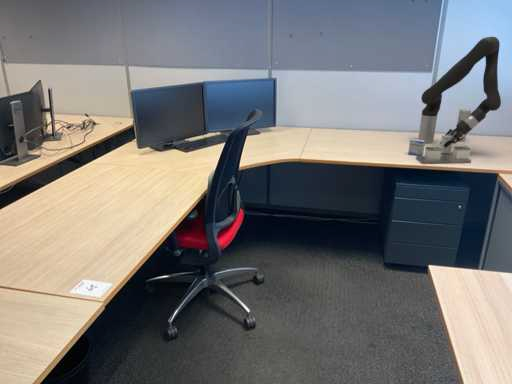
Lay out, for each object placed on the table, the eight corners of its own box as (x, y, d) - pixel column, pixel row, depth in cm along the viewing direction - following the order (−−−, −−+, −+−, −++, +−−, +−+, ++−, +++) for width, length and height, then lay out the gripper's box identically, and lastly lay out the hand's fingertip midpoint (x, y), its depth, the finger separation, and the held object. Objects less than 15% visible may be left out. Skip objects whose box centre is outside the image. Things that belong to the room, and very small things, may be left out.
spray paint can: (464, 139, 279) (469, 108, 272) (466, 142, 273) (471, 110, 266) (453, 138, 281) (458, 108, 273) (455, 141, 275) (460, 110, 267)
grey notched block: (416, 158, 242) (417, 146, 239) (462, 158, 243) (465, 145, 240) (422, 163, 234) (424, 150, 231) (470, 163, 234) (473, 149, 232)
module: (439, 150, 251) (442, 135, 247) (447, 150, 251) (450, 135, 248) (442, 153, 247) (445, 137, 244) (450, 152, 247) (453, 137, 244)
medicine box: (407, 154, 250) (409, 140, 246) (409, 152, 253) (411, 138, 250) (422, 156, 246) (424, 141, 243) (423, 154, 250) (425, 139, 247)
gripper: (457, 117, 249) (433, 137, 253) (469, 123, 236) (444, 144, 240) (464, 125, 251) (441, 146, 255) (477, 132, 238) (452, 153, 242)
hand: (442, 145), depth 248 cm, fingers closed on module, 4 cm apart
